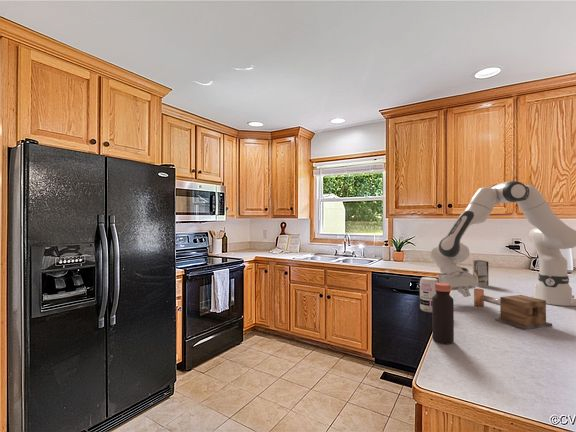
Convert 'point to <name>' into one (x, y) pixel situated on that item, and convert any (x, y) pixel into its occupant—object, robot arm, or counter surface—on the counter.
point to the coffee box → (481, 272)
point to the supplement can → (427, 293)
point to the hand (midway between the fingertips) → (467, 296)
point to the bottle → (442, 314)
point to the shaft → (483, 298)
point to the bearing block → (523, 312)
